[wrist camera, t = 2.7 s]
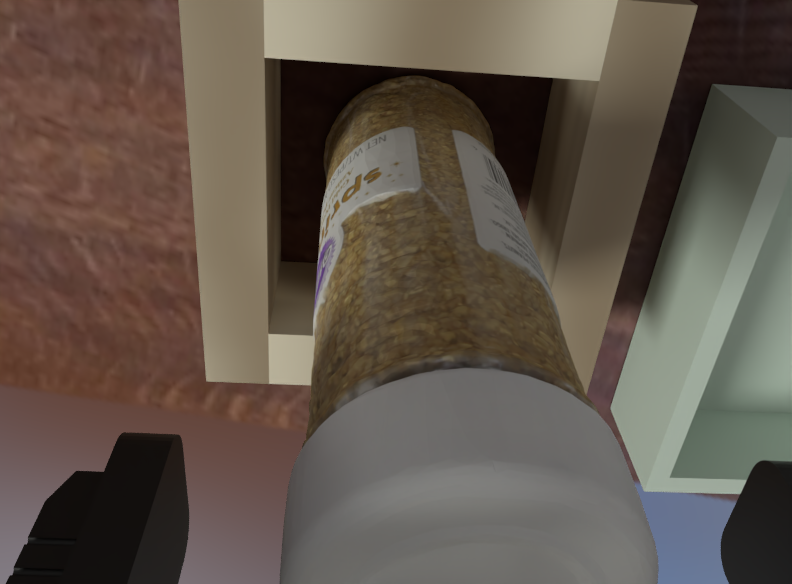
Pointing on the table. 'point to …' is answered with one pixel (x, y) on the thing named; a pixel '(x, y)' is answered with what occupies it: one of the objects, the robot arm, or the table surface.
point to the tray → (718, 308)
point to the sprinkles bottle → (445, 376)
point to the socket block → (425, 49)
